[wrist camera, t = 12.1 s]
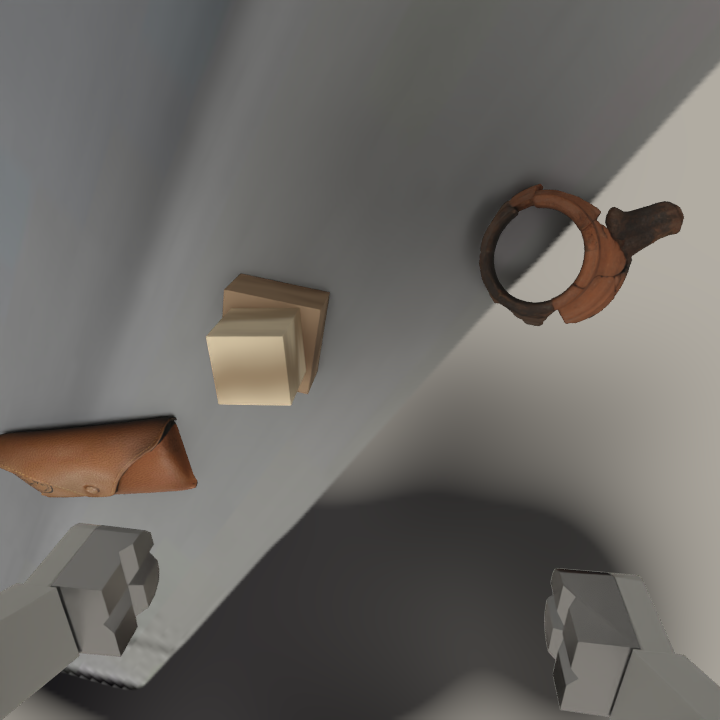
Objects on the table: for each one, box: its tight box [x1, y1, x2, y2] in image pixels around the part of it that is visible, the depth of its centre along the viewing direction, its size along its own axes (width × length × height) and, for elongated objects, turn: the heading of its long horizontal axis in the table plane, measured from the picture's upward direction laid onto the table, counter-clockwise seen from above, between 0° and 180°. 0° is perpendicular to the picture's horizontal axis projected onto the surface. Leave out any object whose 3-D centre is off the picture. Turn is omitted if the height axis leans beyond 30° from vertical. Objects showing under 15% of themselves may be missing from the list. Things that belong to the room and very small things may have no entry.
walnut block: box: [222, 274, 330, 394], centre depth 42 cm, size 7×7×4 cm
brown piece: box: [479, 184, 684, 326], centre depth 35 cm, size 12×10×8 cm
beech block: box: [206, 308, 306, 406], centre depth 38 cm, size 5×5×5 cm
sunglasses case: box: [0, 417, 197, 497], centre depth 51 cm, size 18×7×7 cm, turn 101°
